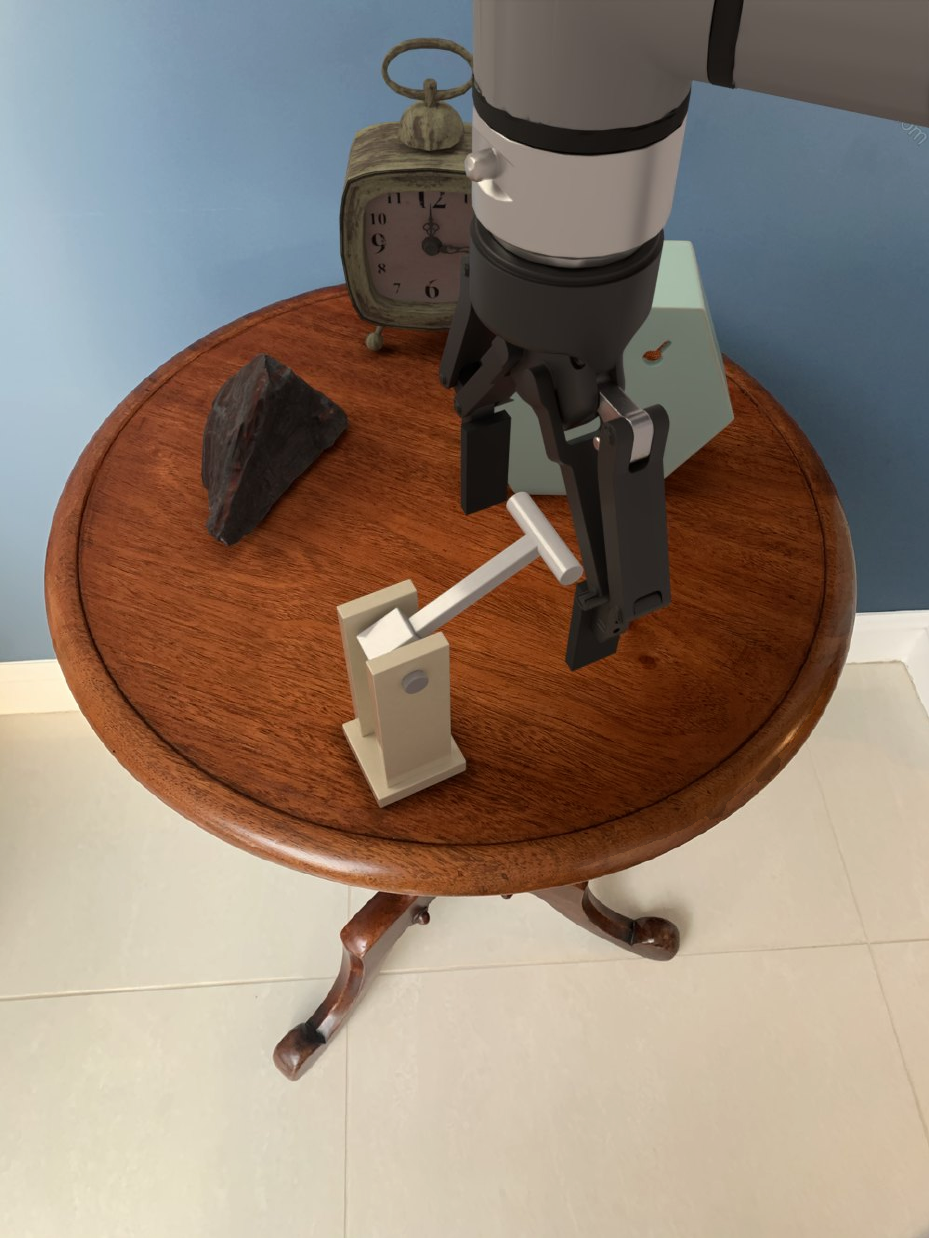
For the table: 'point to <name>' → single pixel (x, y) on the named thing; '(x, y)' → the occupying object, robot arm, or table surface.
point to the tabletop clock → (408, 208)
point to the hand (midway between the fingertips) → (533, 576)
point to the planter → (648, 379)
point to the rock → (261, 443)
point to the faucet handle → (479, 581)
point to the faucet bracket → (398, 701)
